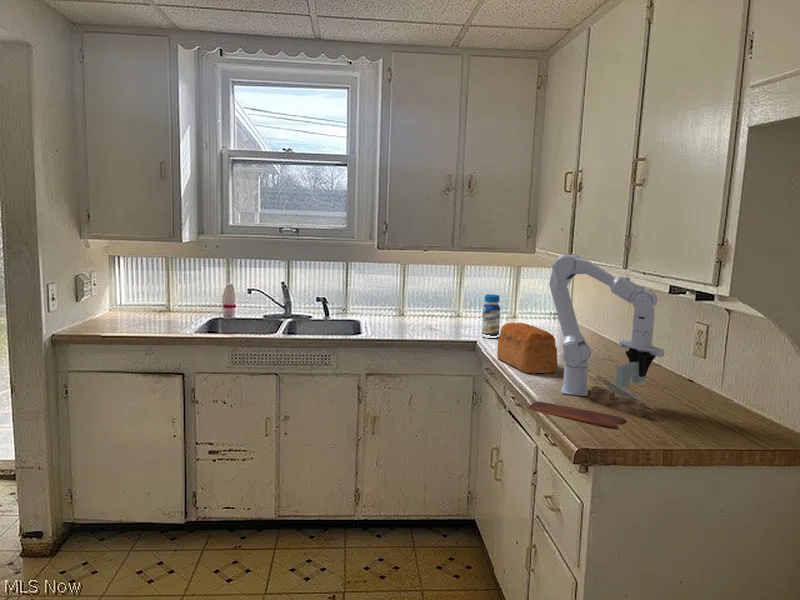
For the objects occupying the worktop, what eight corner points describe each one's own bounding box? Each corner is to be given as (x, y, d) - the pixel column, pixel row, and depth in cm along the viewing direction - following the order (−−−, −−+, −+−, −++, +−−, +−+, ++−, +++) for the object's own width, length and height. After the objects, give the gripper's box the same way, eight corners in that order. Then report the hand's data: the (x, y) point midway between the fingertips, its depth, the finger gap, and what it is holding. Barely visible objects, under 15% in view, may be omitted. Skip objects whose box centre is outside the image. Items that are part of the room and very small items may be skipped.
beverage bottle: (499, 336, 277) (501, 294, 275) (499, 339, 269) (501, 296, 266) (481, 335, 279) (483, 293, 276) (480, 338, 271) (482, 295, 268)
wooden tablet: (627, 422, 162) (627, 416, 162) (615, 432, 154) (615, 426, 154) (537, 402, 178) (537, 396, 178) (522, 410, 170) (523, 404, 170)
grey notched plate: (621, 387, 171) (622, 367, 170) (616, 385, 173) (616, 365, 172) (645, 380, 176) (645, 361, 175) (639, 379, 178) (640, 360, 177)
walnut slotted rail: (590, 399, 180) (591, 386, 180) (595, 398, 181) (596, 386, 181) (638, 417, 165) (639, 403, 164) (643, 416, 165) (644, 402, 165)
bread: (525, 356, 237) (527, 319, 235) (560, 373, 212) (562, 332, 209) (493, 358, 233) (495, 320, 231) (525, 375, 208) (527, 333, 206)
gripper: (672, 334, 170) (668, 379, 171) (632, 325, 182) (628, 368, 184) (656, 336, 166) (652, 382, 168) (616, 327, 179) (612, 370, 181)
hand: (638, 375), depth 176 cm, fingers closed on grey notched plate, 2 cm apart
